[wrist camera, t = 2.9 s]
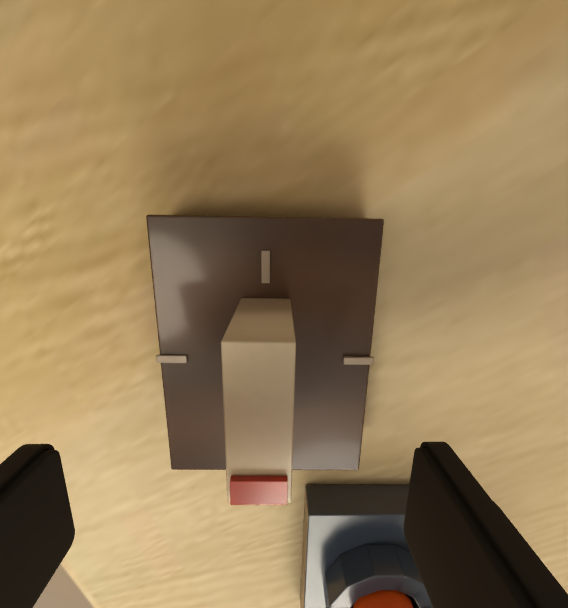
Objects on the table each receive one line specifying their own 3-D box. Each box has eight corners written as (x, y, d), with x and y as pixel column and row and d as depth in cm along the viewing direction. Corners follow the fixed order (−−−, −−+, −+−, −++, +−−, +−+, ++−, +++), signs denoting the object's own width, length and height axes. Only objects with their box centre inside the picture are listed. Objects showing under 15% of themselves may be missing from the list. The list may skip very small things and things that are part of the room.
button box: (305, 484, 20) (311, 546, 17) (439, 484, 21) (476, 545, 17) (300, 600, 23) (304, 676, 20) (417, 600, 24) (444, 674, 20)
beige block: (241, 297, 14) (218, 344, 9) (290, 298, 14) (296, 345, 9) (243, 414, 15) (226, 509, 10) (287, 414, 15) (291, 509, 10)
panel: (168, 214, 16) (141, 214, 13) (367, 218, 16) (388, 219, 13) (185, 432, 19) (168, 472, 16) (348, 433, 19) (361, 473, 16)
